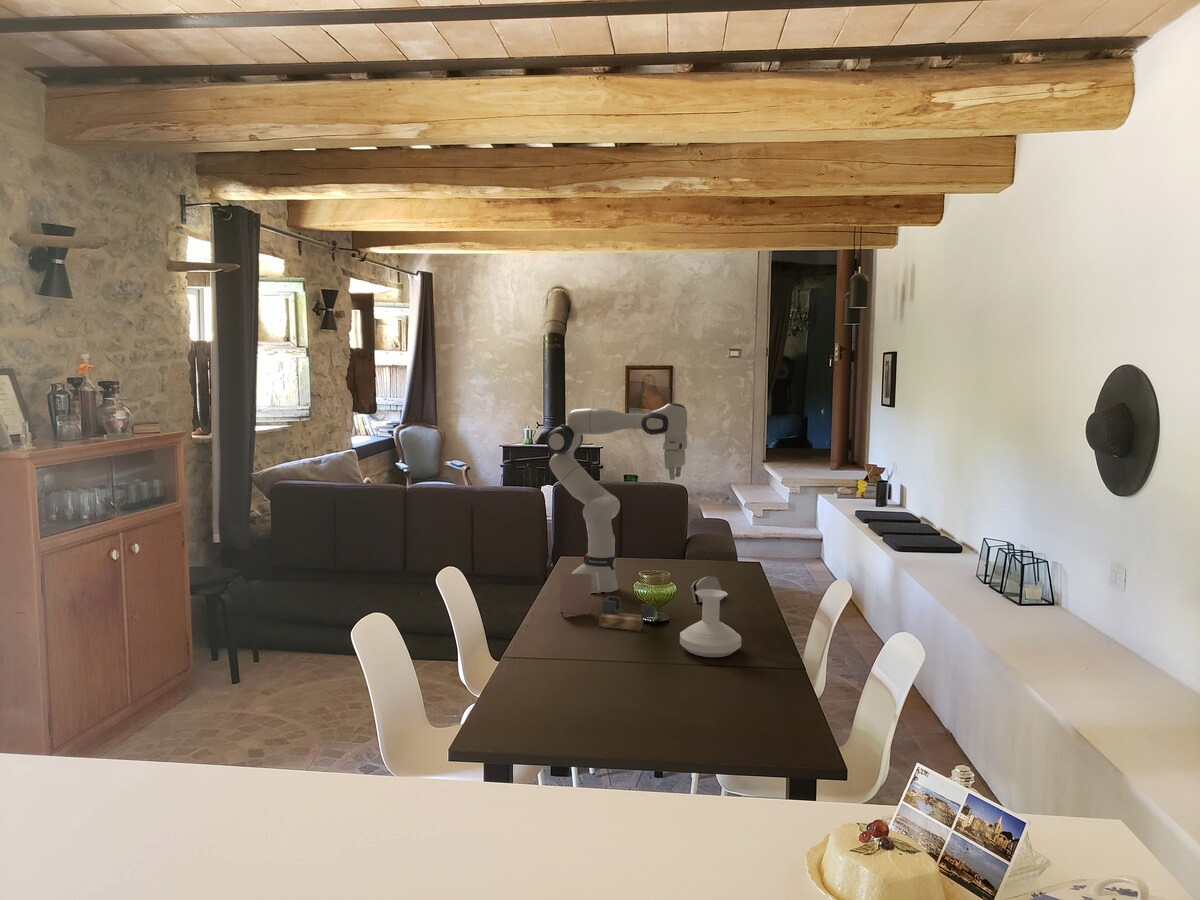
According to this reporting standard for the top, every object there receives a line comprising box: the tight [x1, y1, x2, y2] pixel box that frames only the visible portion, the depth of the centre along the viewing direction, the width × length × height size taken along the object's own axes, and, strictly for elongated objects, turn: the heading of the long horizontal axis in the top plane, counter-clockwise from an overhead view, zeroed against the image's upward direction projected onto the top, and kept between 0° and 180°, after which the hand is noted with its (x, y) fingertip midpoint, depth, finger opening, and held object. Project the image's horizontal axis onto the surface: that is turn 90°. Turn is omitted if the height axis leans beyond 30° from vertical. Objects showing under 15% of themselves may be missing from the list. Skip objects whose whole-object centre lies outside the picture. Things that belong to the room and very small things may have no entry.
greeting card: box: [559, 572, 592, 617], centre depth 303 cm, size 11×7×15 cm, turn 84°
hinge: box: [690, 576, 727, 604], centre depth 328 cm, size 17×5×10 cm, turn 141°
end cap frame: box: [602, 595, 656, 618], centre depth 301 cm, size 19×7×6 cm, turn 71°
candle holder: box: [679, 589, 742, 658], centre depth 265 cm, size 20×20×19 cm
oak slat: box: [598, 613, 644, 631], centre depth 290 cm, size 15×4×4 cm, turn 71°
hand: (675, 478), depth 329 cm, fingers open, 8 cm apart
